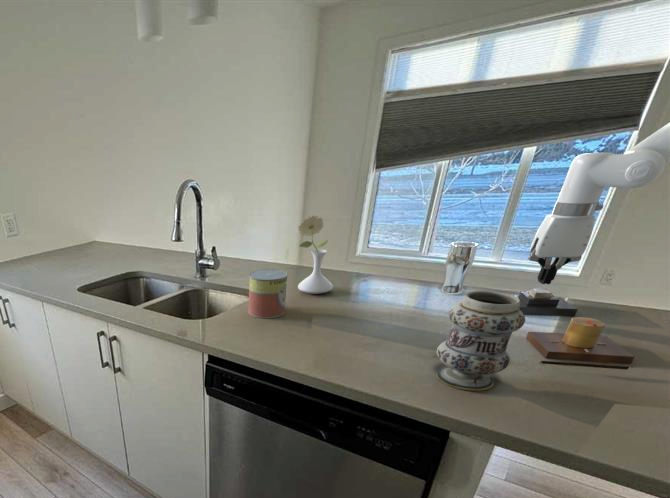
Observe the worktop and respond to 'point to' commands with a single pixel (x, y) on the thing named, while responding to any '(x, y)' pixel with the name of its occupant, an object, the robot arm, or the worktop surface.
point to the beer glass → (458, 266)
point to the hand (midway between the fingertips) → (543, 282)
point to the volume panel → (579, 351)
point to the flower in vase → (316, 280)
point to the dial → (583, 332)
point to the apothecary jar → (479, 339)
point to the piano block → (545, 306)
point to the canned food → (267, 293)
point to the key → (540, 293)
